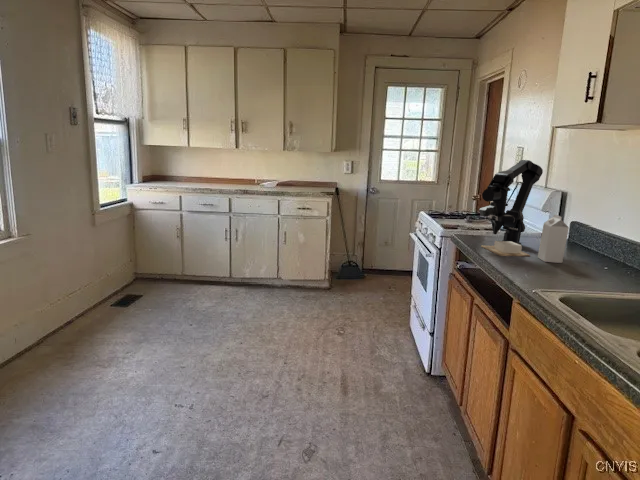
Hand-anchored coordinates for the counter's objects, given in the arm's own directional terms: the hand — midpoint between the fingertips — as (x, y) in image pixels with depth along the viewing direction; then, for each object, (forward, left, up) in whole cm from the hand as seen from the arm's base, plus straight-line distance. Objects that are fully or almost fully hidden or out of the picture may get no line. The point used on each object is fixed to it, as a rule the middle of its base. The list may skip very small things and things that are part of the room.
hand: (494, 234), depth 201 cm
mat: (0, +10, -6) cm, 12 cm away
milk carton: (-12, +24, -6) cm, 28 cm away
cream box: (0, +8, -3) cm, 9 cm away
